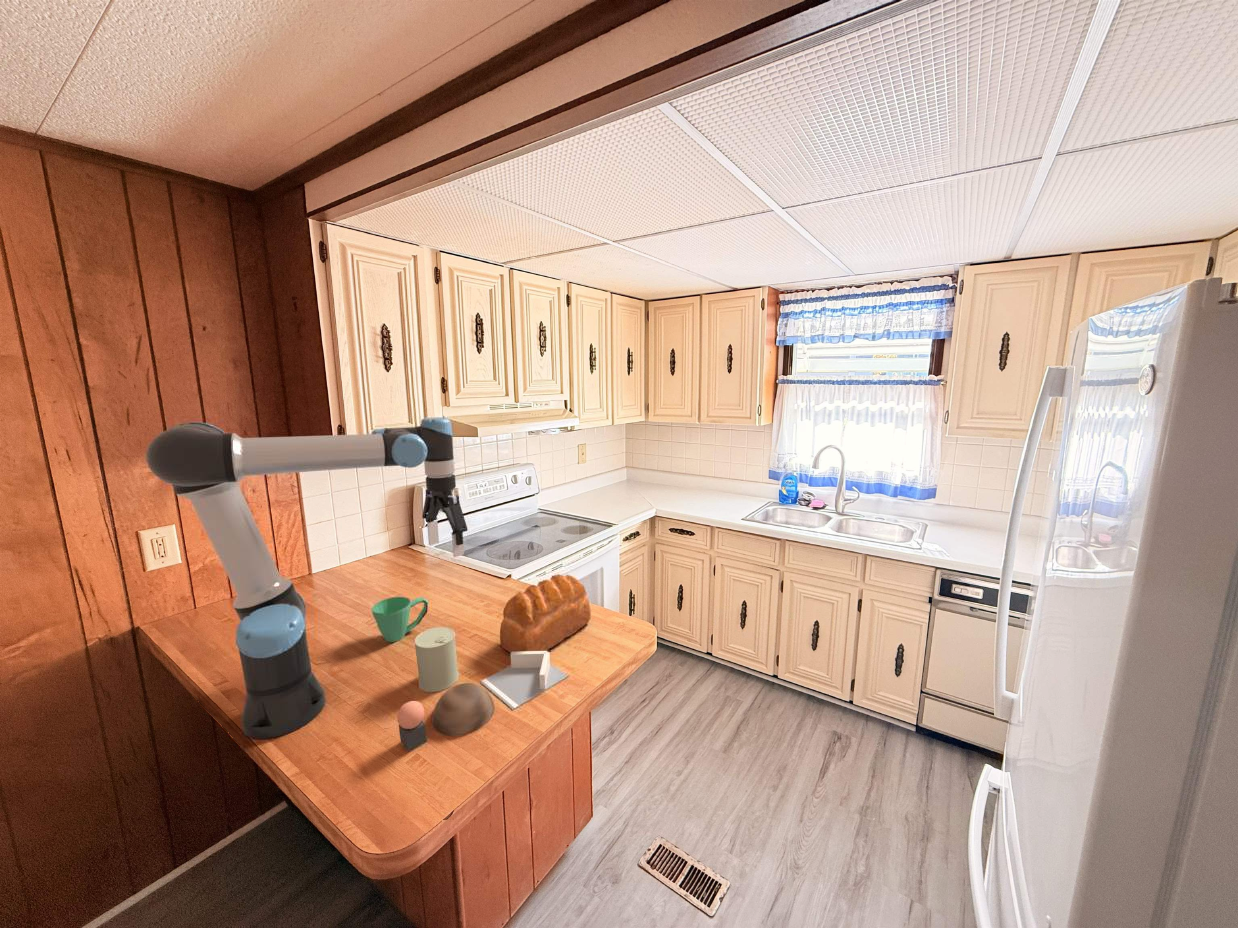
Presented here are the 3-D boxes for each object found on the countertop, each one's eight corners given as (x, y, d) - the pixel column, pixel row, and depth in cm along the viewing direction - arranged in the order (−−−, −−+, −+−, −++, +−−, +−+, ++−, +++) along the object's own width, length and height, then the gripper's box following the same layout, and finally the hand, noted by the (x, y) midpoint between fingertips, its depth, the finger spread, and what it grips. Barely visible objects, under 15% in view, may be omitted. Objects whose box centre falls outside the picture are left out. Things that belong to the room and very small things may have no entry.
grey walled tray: (513, 709, 106) (512, 693, 105) (480, 682, 116) (478, 667, 115) (568, 676, 117) (568, 661, 116) (534, 653, 127) (533, 639, 126)
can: (435, 697, 111) (430, 650, 108) (410, 684, 115) (405, 638, 113) (467, 675, 118) (463, 631, 116) (442, 664, 123) (438, 621, 121)
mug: (381, 651, 129) (376, 617, 127) (371, 636, 136) (367, 603, 134) (435, 632, 138) (432, 600, 136) (424, 618, 145) (421, 588, 144)
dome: (453, 775, 98) (447, 719, 95) (424, 742, 106) (419, 690, 104) (507, 739, 107) (504, 688, 104) (477, 711, 116) (473, 663, 113)
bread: (494, 647, 130) (491, 593, 127) (562, 608, 151) (560, 561, 148) (530, 664, 122) (527, 608, 119) (596, 621, 142) (595, 572, 139)
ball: (404, 738, 93) (402, 716, 92) (394, 726, 97) (391, 704, 96) (429, 725, 97) (427, 703, 96) (419, 713, 100) (416, 691, 99)
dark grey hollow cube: (408, 751, 95) (406, 734, 94) (400, 741, 97) (398, 724, 97) (427, 741, 97) (425, 723, 97) (419, 731, 100) (417, 714, 99)
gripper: (477, 479, 124) (482, 556, 128) (431, 467, 141) (436, 536, 145) (451, 484, 119) (456, 565, 123) (405, 470, 135) (412, 542, 139)
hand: (445, 549), depth 134 cm, fingers open, 13 cm apart
